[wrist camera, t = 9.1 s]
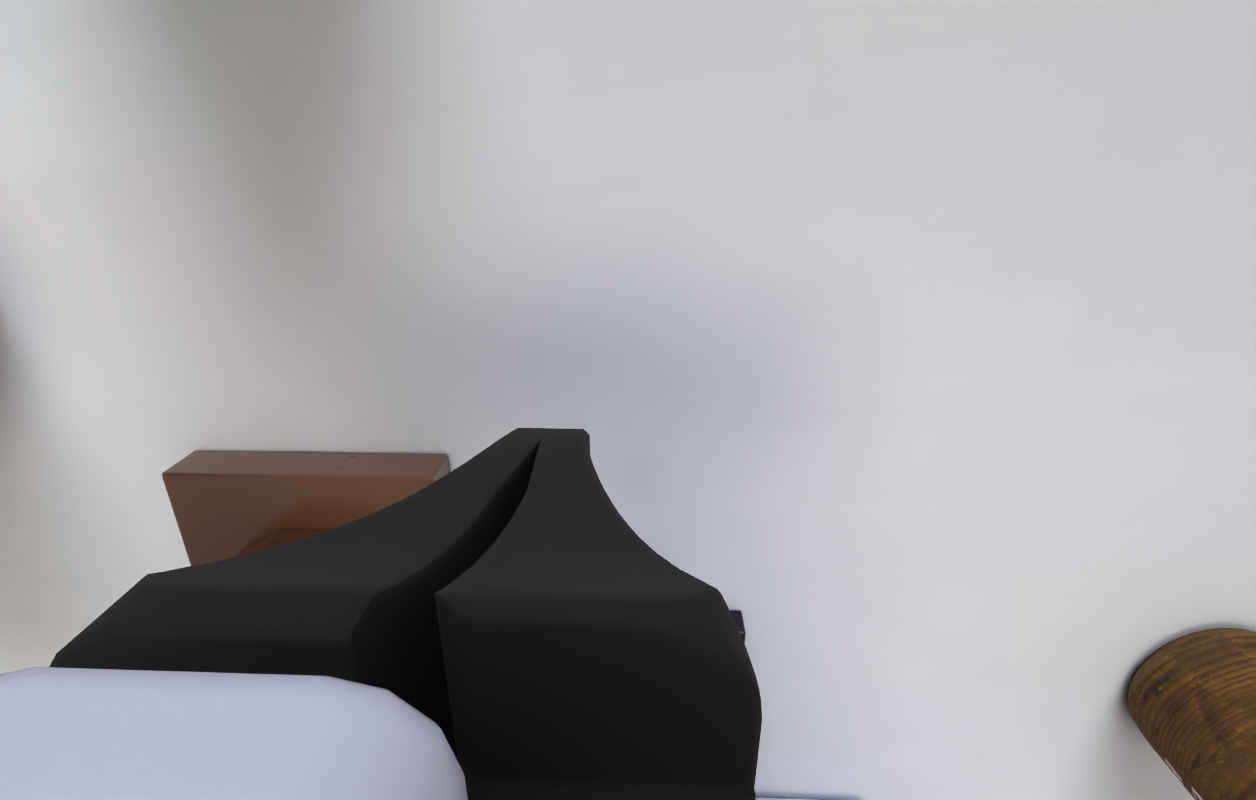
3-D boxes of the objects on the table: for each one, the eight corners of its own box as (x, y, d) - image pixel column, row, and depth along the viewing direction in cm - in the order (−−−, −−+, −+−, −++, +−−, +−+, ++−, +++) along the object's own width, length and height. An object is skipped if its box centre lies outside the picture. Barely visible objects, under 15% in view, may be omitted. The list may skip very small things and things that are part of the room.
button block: (478, 691, 26) (453, 769, 23) (264, 685, 26) (210, 762, 23) (448, 452, 22) (412, 507, 19) (194, 449, 22) (116, 502, 19)
